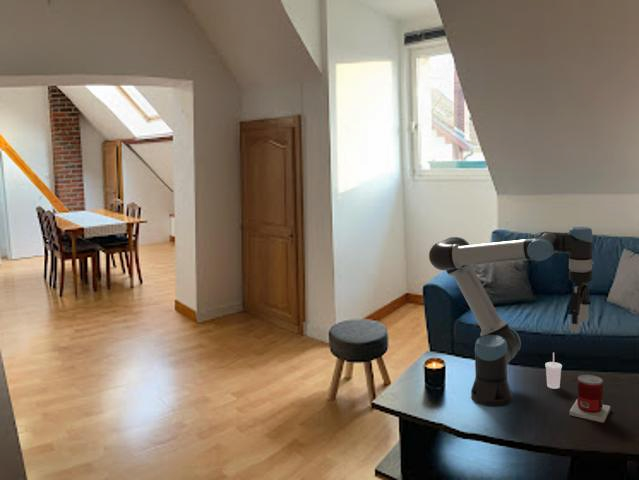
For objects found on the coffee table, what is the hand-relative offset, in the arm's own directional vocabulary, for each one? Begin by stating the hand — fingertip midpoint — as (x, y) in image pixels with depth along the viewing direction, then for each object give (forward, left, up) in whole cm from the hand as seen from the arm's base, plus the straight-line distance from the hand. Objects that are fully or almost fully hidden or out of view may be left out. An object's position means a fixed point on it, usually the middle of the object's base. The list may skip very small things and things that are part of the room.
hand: (579, 326), depth 199 cm
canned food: (+5, -8, -27) cm, 29 cm away
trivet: (+5, -8, -29) cm, 30 cm away
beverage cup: (-11, +8, -29) cm, 32 cm away
